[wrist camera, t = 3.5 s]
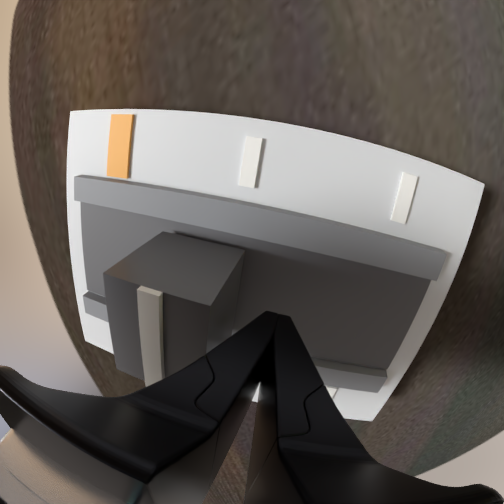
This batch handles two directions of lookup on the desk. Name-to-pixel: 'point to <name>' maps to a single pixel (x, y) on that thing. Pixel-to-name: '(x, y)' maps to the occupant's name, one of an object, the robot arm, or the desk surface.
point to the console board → (277, 230)
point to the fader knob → (171, 303)
